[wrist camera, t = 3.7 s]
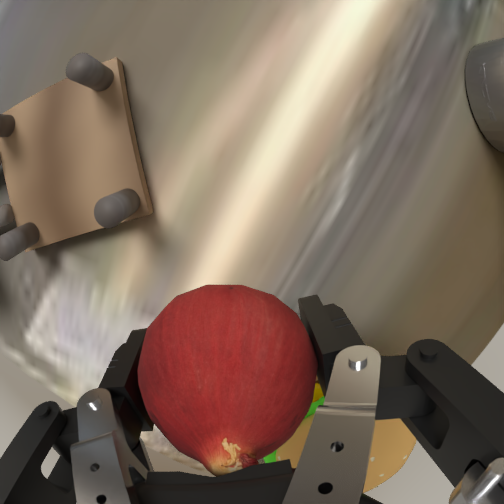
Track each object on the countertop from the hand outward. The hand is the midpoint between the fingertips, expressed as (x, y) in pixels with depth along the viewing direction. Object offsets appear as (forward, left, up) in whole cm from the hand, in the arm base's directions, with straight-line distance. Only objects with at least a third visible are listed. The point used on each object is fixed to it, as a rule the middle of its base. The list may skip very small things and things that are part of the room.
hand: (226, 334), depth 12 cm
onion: (0, 0, -2) cm, 2 cm away
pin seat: (+10, -9, -7) cm, 15 cm away
